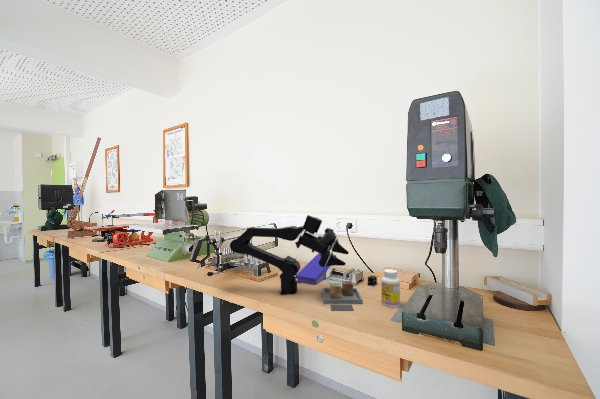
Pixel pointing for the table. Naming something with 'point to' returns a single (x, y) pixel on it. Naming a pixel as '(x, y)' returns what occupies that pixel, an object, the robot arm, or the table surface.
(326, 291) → the parts tray
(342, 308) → the rubber mat
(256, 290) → the table surface
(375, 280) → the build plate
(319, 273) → the purple flat box
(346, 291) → the walnut block
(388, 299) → the supplement bottle
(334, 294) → the labelled block
